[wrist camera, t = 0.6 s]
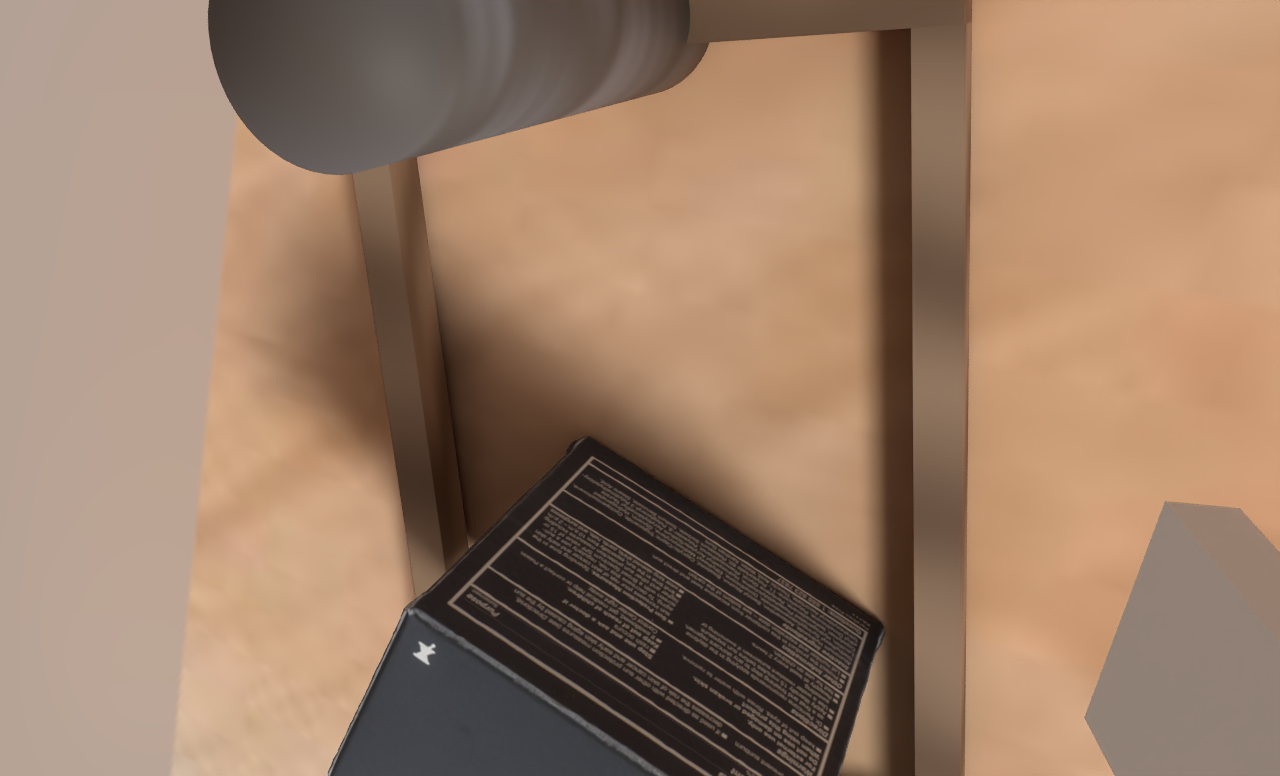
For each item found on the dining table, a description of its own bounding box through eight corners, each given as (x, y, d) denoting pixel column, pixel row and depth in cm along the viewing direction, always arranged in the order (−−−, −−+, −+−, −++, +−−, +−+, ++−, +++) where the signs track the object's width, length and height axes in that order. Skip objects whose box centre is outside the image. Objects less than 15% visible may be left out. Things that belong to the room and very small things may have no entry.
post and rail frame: (352, -40, 32) (-113, -52, 20) (972, -106, 26) (875, -183, 14) (470, 793, 40) (195, 1159, 28) (963, 878, 35) (896, 1384, 22)
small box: (500, 584, 37) (308, 785, 28) (584, 426, 35) (399, 591, 25) (783, 773, 36) (679, 1051, 27) (894, 624, 33) (821, 876, 24)
